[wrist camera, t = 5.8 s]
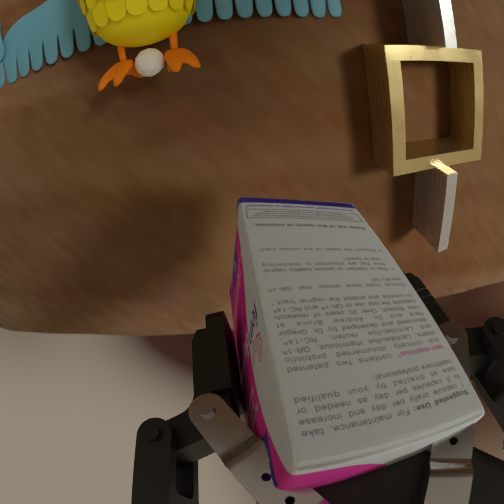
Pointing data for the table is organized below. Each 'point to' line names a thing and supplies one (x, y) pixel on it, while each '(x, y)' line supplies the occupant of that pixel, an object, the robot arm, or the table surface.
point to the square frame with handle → (393, 116)
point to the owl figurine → (125, 31)
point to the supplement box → (336, 346)
